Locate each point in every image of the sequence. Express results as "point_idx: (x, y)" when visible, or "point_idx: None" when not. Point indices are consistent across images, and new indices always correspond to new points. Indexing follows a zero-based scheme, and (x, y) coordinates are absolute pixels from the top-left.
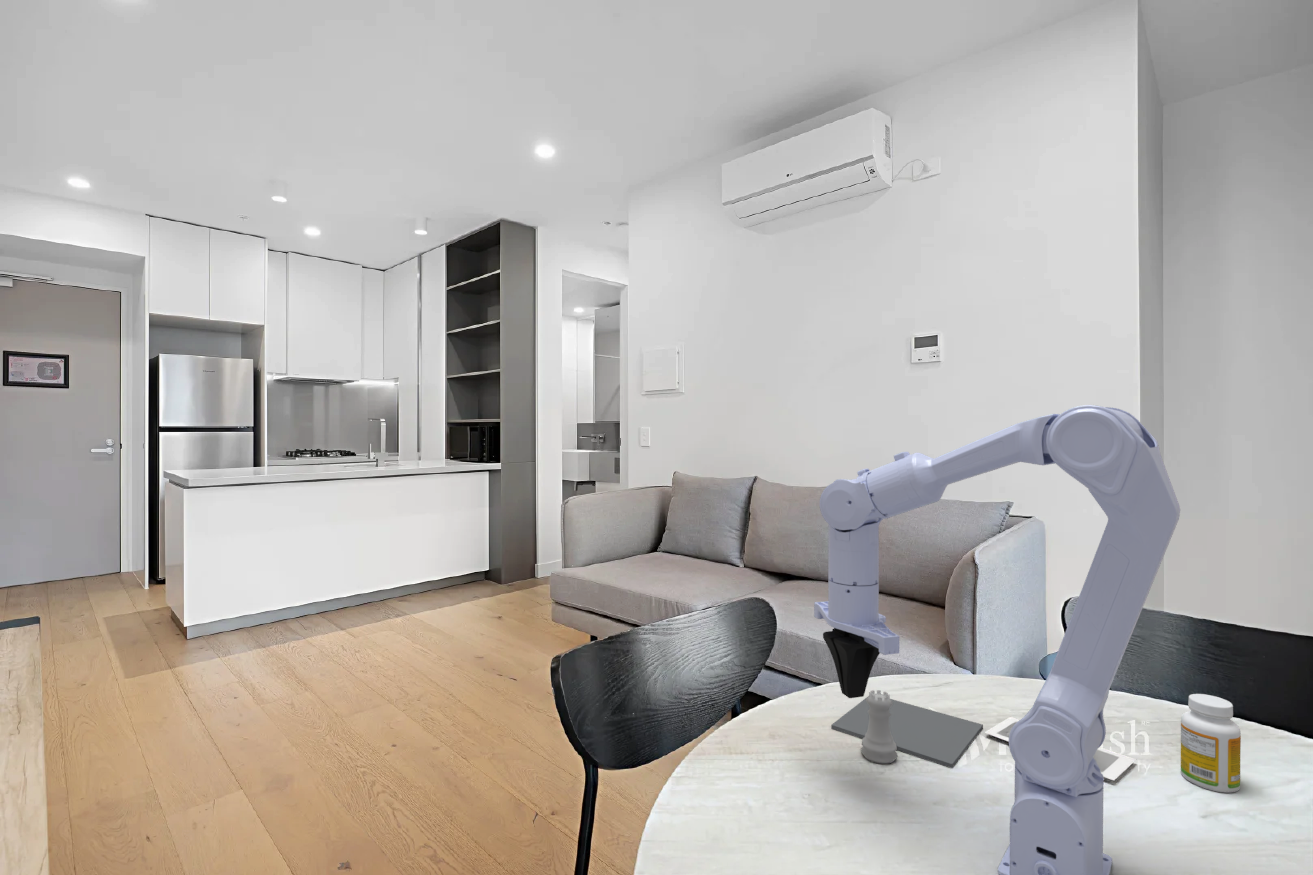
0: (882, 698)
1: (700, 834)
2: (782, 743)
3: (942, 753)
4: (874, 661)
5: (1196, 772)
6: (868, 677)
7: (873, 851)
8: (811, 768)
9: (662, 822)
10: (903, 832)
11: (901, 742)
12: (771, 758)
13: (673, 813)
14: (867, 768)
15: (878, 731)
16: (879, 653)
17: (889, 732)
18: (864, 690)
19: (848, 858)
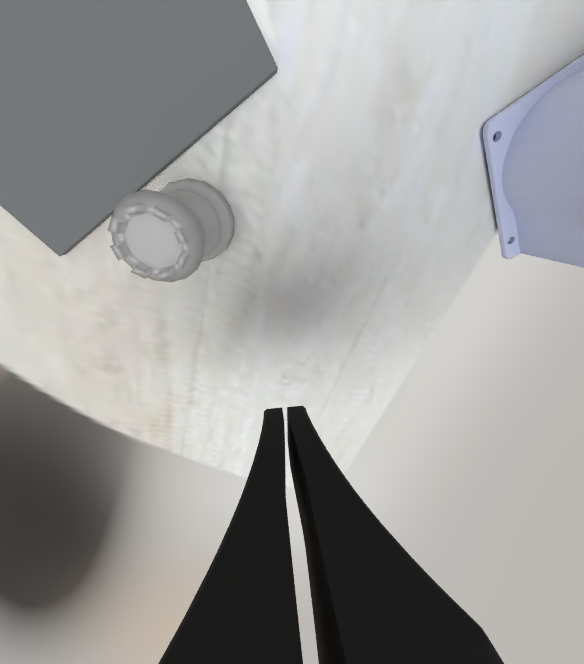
0: (172, 242)
1: None
2: (139, 362)
3: (224, 45)
4: (378, 522)
5: None
6: (328, 453)
7: (398, 358)
8: (223, 351)
9: (288, 486)
10: (390, 312)
11: (153, 129)
12: (187, 389)
13: None
14: (239, 270)
15: (206, 245)
16: (426, 574)
17: (204, 212)
18: (309, 419)
19: (393, 383)
